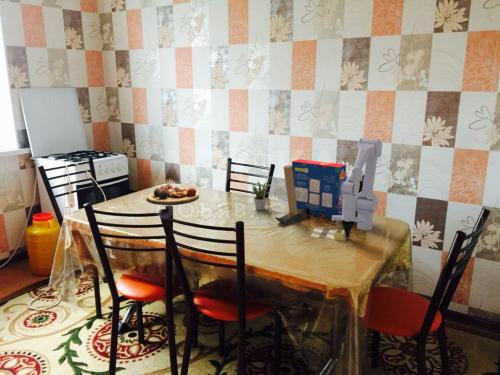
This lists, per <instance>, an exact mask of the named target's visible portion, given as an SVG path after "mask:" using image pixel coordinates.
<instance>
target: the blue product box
mask: <svg viewBox="0 0 500 375" xmlns="http://www.w3.org/2000/svg"><path fill="white" fill-rule="evenodd" d="M291 166H292V171H293V179H294V187H295V195H296V204H297V209H298V208H300V209H303V208H304V207H308V208H309V210H310V214H309V215H312V216H317V217H322V218H327V219H332V215H342V206H343V197H342V193H341V186H342V183H343V182H345V181H346V179H347V176H346V175H347V164H345V163H334V162H327V161H318V160H311V159H310V160H309V159H295V160H292V161H291Z"/></svg>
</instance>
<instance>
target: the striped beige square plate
mask: <svg viewBox="0 0 500 375" xmlns="http://www.w3.org/2000/svg"><path fill="white" fill-rule="evenodd" d="M335 230H336V228H334V229H333V228H322V227H315V228H314V229H313V231H312V232H311V234H310V235H309V238H313V239H324V240H330V241H331V240H332V241H336V240H335V239H334V233H335ZM346 240H347V237H346V235H345V237H344V239H343V240H339V242H340V241H341V242H346Z"/></svg>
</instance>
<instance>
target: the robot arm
mask: <svg viewBox="0 0 500 375" xmlns="http://www.w3.org/2000/svg"><path fill="white" fill-rule="evenodd" d="M356 148H357V152H358V154H357V157H356V161H355V163H354V166H352V167H350V170H349V172H348V175H347V176H346V181H345V182H343V183H342V186H341V193H342V197H343V206H342V215H332V218H331V221H336V220H337V221H342V229H343V230H344V231H345V235H346V237H347V238H350V235H351V230H352V228H353V227H354V225H355V223H356V228H357V230H361V231H371V230H373V225H374V224H373V223H374V213H376V211H377V210H378V207H379V204H378V203H379V202H378V198H379V197H378V196H377V195H376V194H375V193H374V191H373V190H374V184H375V178H376V177H375V176H376V170H377V165H378V164H377V162H378V158H380V157H381V155H382V149H383V142H382V140H381V139H379V138H378V139H374V138H364V137H360V138H359V139H358V141H357V146H356ZM363 168H364V170H363ZM362 177H363V180H362ZM361 180H362V181H363V182H362V188H361V191H360V185H361V183H360V182H361ZM359 191H360V192H359ZM356 212H357V216H356ZM347 238H346V239H347Z"/></svg>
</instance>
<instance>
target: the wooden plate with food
mask: <svg viewBox="0 0 500 375" xmlns="http://www.w3.org/2000/svg"><path fill="white" fill-rule="evenodd" d="M146 197H147V199H148V200H149V201H148V200H147V199H146V200H147V201H148V202H150V201H151V202H150V203H152V202H155V203H154V204H157V203H159V205H174V204H176V205H177V203H178V204H185V203H190V202H193V201H195V200H197V199H198V198H199V197H200V193H199V192H198V191H197V190H196V188H194V187H190V188H187V187H186V188H180V187H178V186H174V187H173V186H172V185H171V184H170V183H169V184H166V186H165V185H163V186H162V185H161V186H160V187H156V188H155V189H154V191H153V192H151V193H149V194H148V195H147V196H146Z"/></svg>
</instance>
